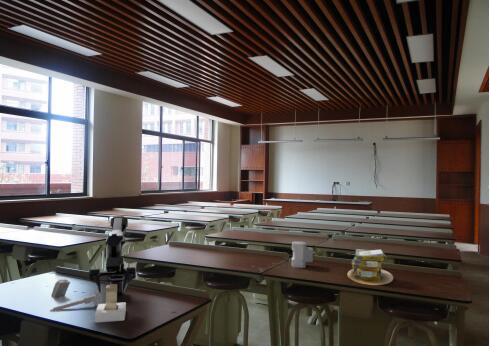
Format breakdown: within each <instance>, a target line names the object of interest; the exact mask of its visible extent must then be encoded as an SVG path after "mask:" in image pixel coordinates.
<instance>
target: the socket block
mask: <svg viewBox="0 0 490 346" xmlns="http://www.w3.org/2000/svg"><path fill="white" fill-rule="evenodd" d="M126 312H127V303H126V301H125V302H123V301H122V302H117V310H106V303H102V304H100V303H97V306H96V311H95V313H94V323H96V324H97V323H107V322H108V323H109V322H120V321H125V319H126Z"/></svg>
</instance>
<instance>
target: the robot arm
mask: <svg viewBox="0 0 490 346" xmlns="http://www.w3.org/2000/svg"><path fill="white" fill-rule="evenodd" d="M110 227H111V230H112V231H110V232H109V233H108V236H107V237H106V240H105V245H106V248H107V249H106V250H107V258H106V262H105V270H106V271H101V270H100V268H90V269H89V272H88V276H89V281H90V282H92V283H94V284H95V285H96V286H97V290H98V292H99V294H101V291H102V286H101V285H102V284H101V282H102V281H101V277H106V281H107V283H110V284H109V285H112V284H117V296H119V295H123V294H124V293H125V291H126V289H127V286H128V285H129V284H130V282H131V281H133V280H135V279H136V278H137V268H136V267H135V266H129V267H128V266H127V267H125V263H124V262H125V259H124V257H125V256H124V255H123V246H124V245H126V242H127V241H126V240H127V239H126V237H125V236H124V235H125V233H126V232H127V227H129V219H128V218H127V217H125V216H123V215H115V216H113V217H111V218H110Z"/></svg>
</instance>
